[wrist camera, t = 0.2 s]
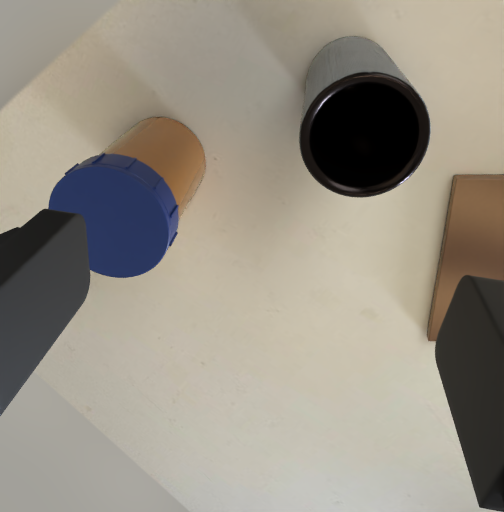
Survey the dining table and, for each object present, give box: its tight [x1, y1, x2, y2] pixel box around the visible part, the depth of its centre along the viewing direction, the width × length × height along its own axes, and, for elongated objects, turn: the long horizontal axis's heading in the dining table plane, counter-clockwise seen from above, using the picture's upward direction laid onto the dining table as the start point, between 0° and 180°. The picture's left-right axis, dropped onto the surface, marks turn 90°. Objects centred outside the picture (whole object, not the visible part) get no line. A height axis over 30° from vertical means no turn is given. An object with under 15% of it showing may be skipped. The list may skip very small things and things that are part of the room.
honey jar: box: [99, 117, 206, 219], centre depth 25 cm, size 5×5×8 cm
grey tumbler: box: [299, 36, 431, 197], centre depth 21 cm, size 4×4×10 cm
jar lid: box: [48, 153, 179, 278], centre depth 22 cm, size 6×6×2 cm
